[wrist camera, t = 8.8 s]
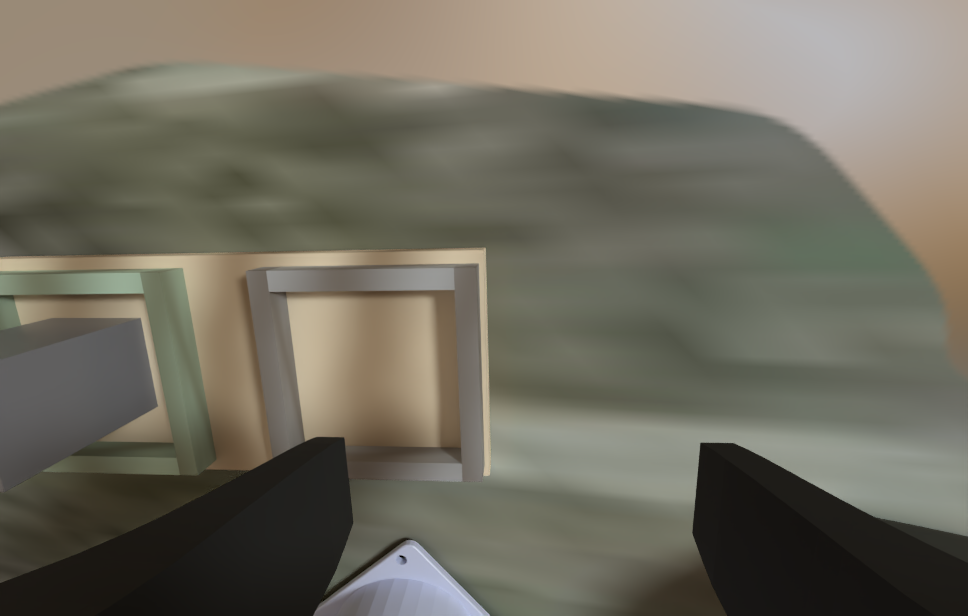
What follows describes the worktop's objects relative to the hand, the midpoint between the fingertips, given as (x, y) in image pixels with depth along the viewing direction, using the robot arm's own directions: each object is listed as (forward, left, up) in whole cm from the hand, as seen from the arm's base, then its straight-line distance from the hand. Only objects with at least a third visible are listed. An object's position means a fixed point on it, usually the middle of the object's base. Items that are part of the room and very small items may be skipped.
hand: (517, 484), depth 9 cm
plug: (-14, +11, -9) cm, 20 cm away
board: (-10, +7, -10) cm, 15 cm away
